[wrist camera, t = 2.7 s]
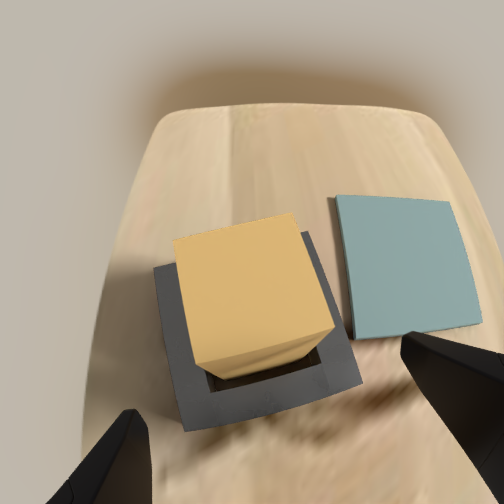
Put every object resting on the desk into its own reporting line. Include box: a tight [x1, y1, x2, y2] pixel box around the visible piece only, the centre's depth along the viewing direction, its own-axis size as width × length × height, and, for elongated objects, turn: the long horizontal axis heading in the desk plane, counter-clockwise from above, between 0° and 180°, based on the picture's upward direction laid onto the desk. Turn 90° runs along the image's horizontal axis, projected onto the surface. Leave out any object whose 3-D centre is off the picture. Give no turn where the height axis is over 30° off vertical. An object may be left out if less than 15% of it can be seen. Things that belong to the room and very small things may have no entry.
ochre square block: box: [173, 212, 335, 381], centre depth 15 cm, size 5×5×10 cm
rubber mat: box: [335, 195, 483, 340], centre depth 22 cm, size 12×12×1 cm
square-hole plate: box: [154, 231, 363, 432], centre depth 19 cm, size 10×10×3 cm
